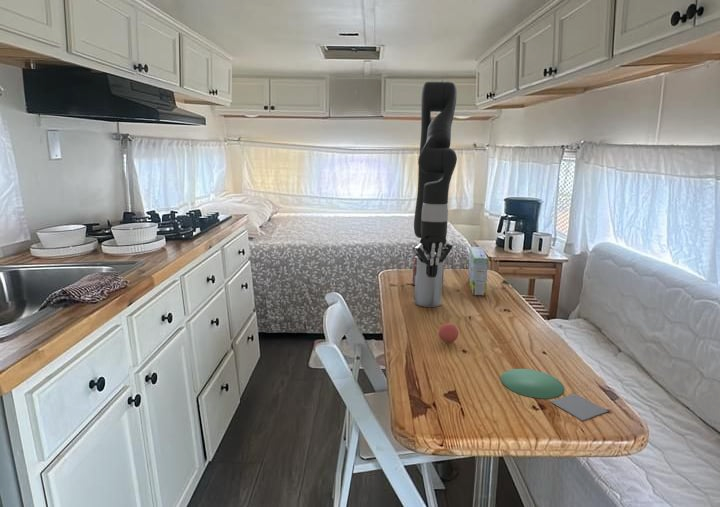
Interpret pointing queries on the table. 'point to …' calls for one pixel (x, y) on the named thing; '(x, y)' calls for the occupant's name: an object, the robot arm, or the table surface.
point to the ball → (448, 332)
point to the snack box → (477, 271)
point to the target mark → (532, 383)
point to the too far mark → (579, 407)
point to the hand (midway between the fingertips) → (431, 276)
